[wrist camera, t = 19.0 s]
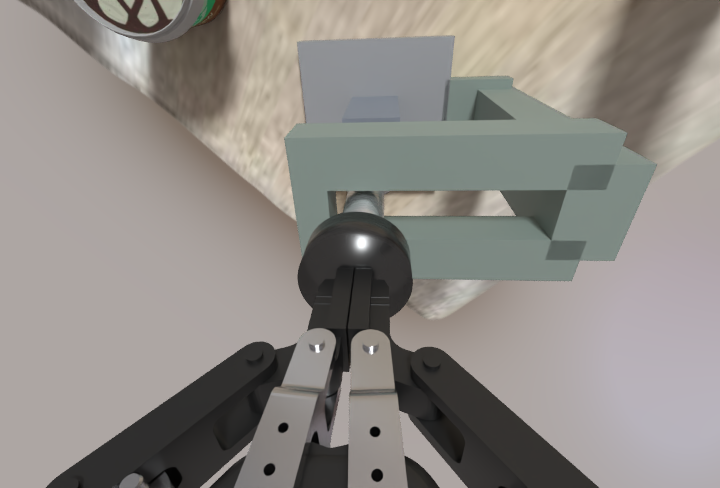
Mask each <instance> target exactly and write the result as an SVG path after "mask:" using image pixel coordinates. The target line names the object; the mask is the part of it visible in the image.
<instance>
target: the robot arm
mask: <svg viewBox="0 0 720 488" xmlns="http://www.w3.org/2000/svg"><path fill="white" fill-rule="evenodd" d="M350 365H351V391H350V395H349V444H348V445H344V446H339V447H335V448H330V442H331V435H332V430H333V425H334V420H335V416H336V410H337V406H338V401H339V396H340V391H341V381H342V373H343V372H349V369H350ZM399 411H402V412H405V413H407V414H408V415H409V418H410V420H411V421H412V422H413V423H414V425H415V426H416V427H417V428H418V429H419V430H420V432H421V433H422V434H423V435H424V436H425V438H426V439H427V440H428V441H429V442H430V443H431V445H432V446H433V447H434V448H435V449H436V451H437V452H438V453H439V454H440V455H441V456H442V458H443V459H444V460H445V461H446V462H447V464H448V465H449V466H450V467H451V468H452V469H453V471H454V472H455V473H456V474H457V475H458V477H459V478H460V479H461V480H462V481H463V482H464V484H465V485H466V486H467V487H468V488H599V487H598V486H597V485H595V484H594V483H593V482H592V481H591V480H590V479H588V478H587V477H586V476H585V475H584V474H583V473H582V472H581V471H580V470H578V469H577V468H576V467H575V466H574V465H573V464H572V463H570V462H569V461H568V460H567V459H566V458H565V457H564V456H562V455H561V454H560V453H559V452H558V451H557V450H556V449H555V448H553V447H552V446H551V445H550V444H549V443H548V442H547V441H545V440H544V439H543V438H542V437H541V436H540V435H538V434H537V433H536V432H535V431H534V430H533V429H532V428H531V427H530V426H528V425H527V424H526V423H525V422H524V421H523V420H522V419H520V418H519V417H518V416H517V415H516V414H515V413H514V412H513V411H511V410H510V409H509V408H508V407H507V406H506V405H505V404H503V403H502V402H501V401H500V400H499V399H498V398H497V397H495V396H494V395H493V394H492V393H491V392H490V391H489V390H487V389H486V388H485V387H484V386H483V385H482V384H481V383H479V382H478V381H477V380H476V379H475V378H474V377H473V376H472V375H470V374H469V373H468V372H467V371H466V370H465V369H464V368H462V367H461V366H460V365H459V364H458V363H457V362H456V361H454V360H453V359H452V358H451V357H450V356H449V355H448V354H446V353H445V352H444V351H442V350H441V349H438V348H434V347H423V348H420V349H418V350H417V351H415V352H411V351H408V350H405V349H402V348H401V347H399V346H398V345H396V344H395V343H394V342H393V340H392V339H391V336H390V314H389V286H388V285H387V283H386V282H385V280H375V279H373V277H372V268H345V267H338V268H337V272H336V277H335V279H325V280H324V281H323V282H322V283H321V284H320V285H319V287H318V290H317V294H316V298H315V302H314V306H313V310H312V314H311V318H310V322H309V326H308V330H307V332H305V333H304V334H303V335H302V336H301V337H300V338H299V340H298V342H297V343H296V344H294V345H291V346H288V347H285V348H280V349H277V350H274V348H273V346H272V345H270V344H269V343H266V342H254V343H251V344H249V345H246V346H245V347H244V348H242V349H240V350H239V351H237V352H236V353H235V354H233V355H232V356H230V357H229V358H227V359H226V360H224V361H223V362H222V363H220V364H219V365H217V366H216V367H214V368H213V369H211V370H210V371H209V372H207V373H206V374H205V375H203V376H201V377H200V378H199V379H197V380H196V381H194V382H193V383H191V384H190V385H189V386H187V387H186V388H184V389H183V390H181V391H180V392H179V393H177V394H176V395H174V396H173V397H171V398H170V399H168V400H167V401H165V402H164V403H163V404H161V405H160V406H159V407H157V408H155V409H154V410H152V411H151V412H150V413H148V414H147V415H145V416H144V417H142V418H141V419H140V420H138V421H137V422H135V423H134V424H132V425H131V426H130V427H128V428H127V429H125V430H124V431H122V432H121V433H119V434H118V435H116V436H115V437H114V438H112V439H111V440H109V441H108V442H107V443H105V444H104V445H102V446H101V447H99V448H98V449H96V450H95V451H93V452H92V453H91V454H89V455H88V456H86V457H85V458H83V459H82V460H81V461H79V462H78V463H76V464H75V465H73V466H72V467H70V468H69V469H68V470H66V471H65V472H63V473H62V474H60V475H59V476H58V477H56V478H55V479H54V480H53V481H52V482H51V483H50V484H49V485H48V486H47V487H46V488H200V487H201V486H202V485H203V484H204V483H205V482H207V481H208V480H209V479H210V478H211V477H212V476H213V475H214V474H215V473H216V472H218V471H219V470H220V469H221V468H222V467H223V466H224V465H225V464H226V463H228V462H229V461H230V460H231V459H232V458H233V457H234V456H235V455H237V454H238V453H239V452H240V451H241V450H242V449H243V448H244V447H245V446H246V445H248V443H250V442H251V441H252V443H251V445H250V448H249V451H248V453H247V455H246V456H245V457H243V458H241V459H240V460H239V461H238V462H236V463H235V464H234V465H233V466H231V467H230V468H229V469H228V470H227V471H226V472H225V473H224V474H223V475H222V476H221V477H220V478H219V479H218V480H217V481H216V482H215V483H214V484H213V485H212V486H211V487H210V488H439V487H438V485H437V484H436V482H435V481H434V480H433V479H432V477H431V476H430V475H429V474H428V473H427V472H426V471H425V469H424V468H422V467H421V466H420V465H419V464H418V463H416V462H415V461H413V460H412V459H410V458H408V457H406V456H404V450H403V441H402V432H401V423H400V415H399Z"/></svg>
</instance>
